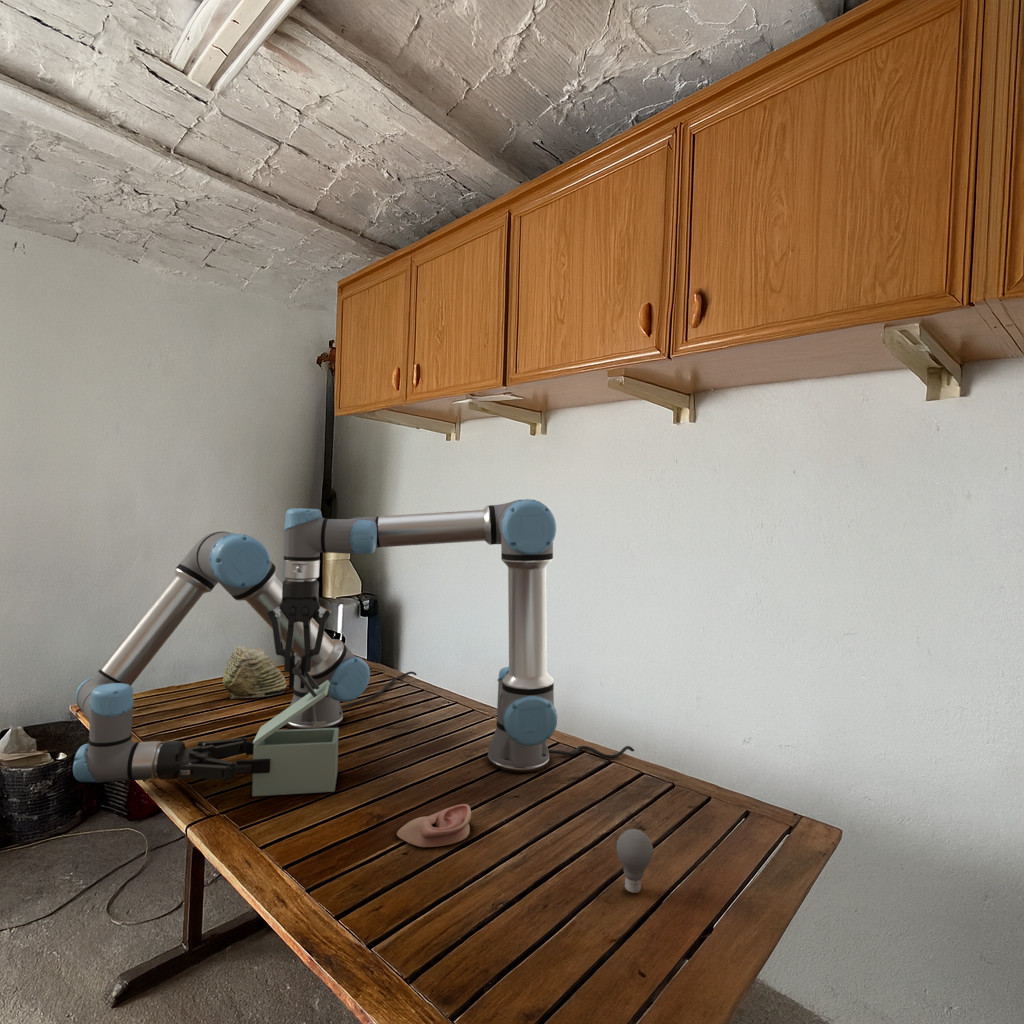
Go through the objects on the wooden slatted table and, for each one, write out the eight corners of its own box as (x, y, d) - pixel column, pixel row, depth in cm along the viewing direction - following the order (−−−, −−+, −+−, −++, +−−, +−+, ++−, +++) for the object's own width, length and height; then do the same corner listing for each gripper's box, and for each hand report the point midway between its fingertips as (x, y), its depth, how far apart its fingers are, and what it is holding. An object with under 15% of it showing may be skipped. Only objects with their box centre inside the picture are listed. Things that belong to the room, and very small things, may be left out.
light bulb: (610, 879, 108) (613, 822, 108) (644, 879, 109) (647, 822, 109) (619, 902, 102) (622, 840, 102) (655, 901, 103) (658, 840, 103)
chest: (337, 773, 145) (338, 727, 145) (334, 791, 136) (336, 743, 136) (260, 777, 142) (261, 730, 141) (252, 796, 133) (253, 746, 132)
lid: (330, 682, 144) (307, 652, 143) (326, 695, 135) (303, 663, 134) (262, 730, 142) (239, 699, 140) (254, 746, 132) (229, 713, 131)
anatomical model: (391, 821, 117) (413, 793, 128) (390, 842, 117) (412, 813, 128) (460, 832, 114) (476, 802, 125) (459, 853, 114) (475, 822, 126)
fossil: (218, 695, 195) (220, 647, 195) (278, 685, 208) (279, 640, 207) (228, 703, 189) (230, 653, 188) (289, 692, 201) (290, 645, 201)
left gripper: (176, 756, 144) (280, 753, 149) (141, 802, 122) (263, 796, 127) (177, 724, 144) (281, 721, 148) (142, 764, 122) (265, 759, 127)
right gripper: (262, 581, 133) (258, 692, 133) (334, 582, 136) (330, 691, 136) (268, 576, 140) (264, 682, 140) (337, 577, 143) (333, 681, 144)
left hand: (273, 756), depth 138 cm, fingers closed on chest, 9 cm apart
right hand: (297, 686), depth 138 cm, fingers closed on lid, 2 cm apart
